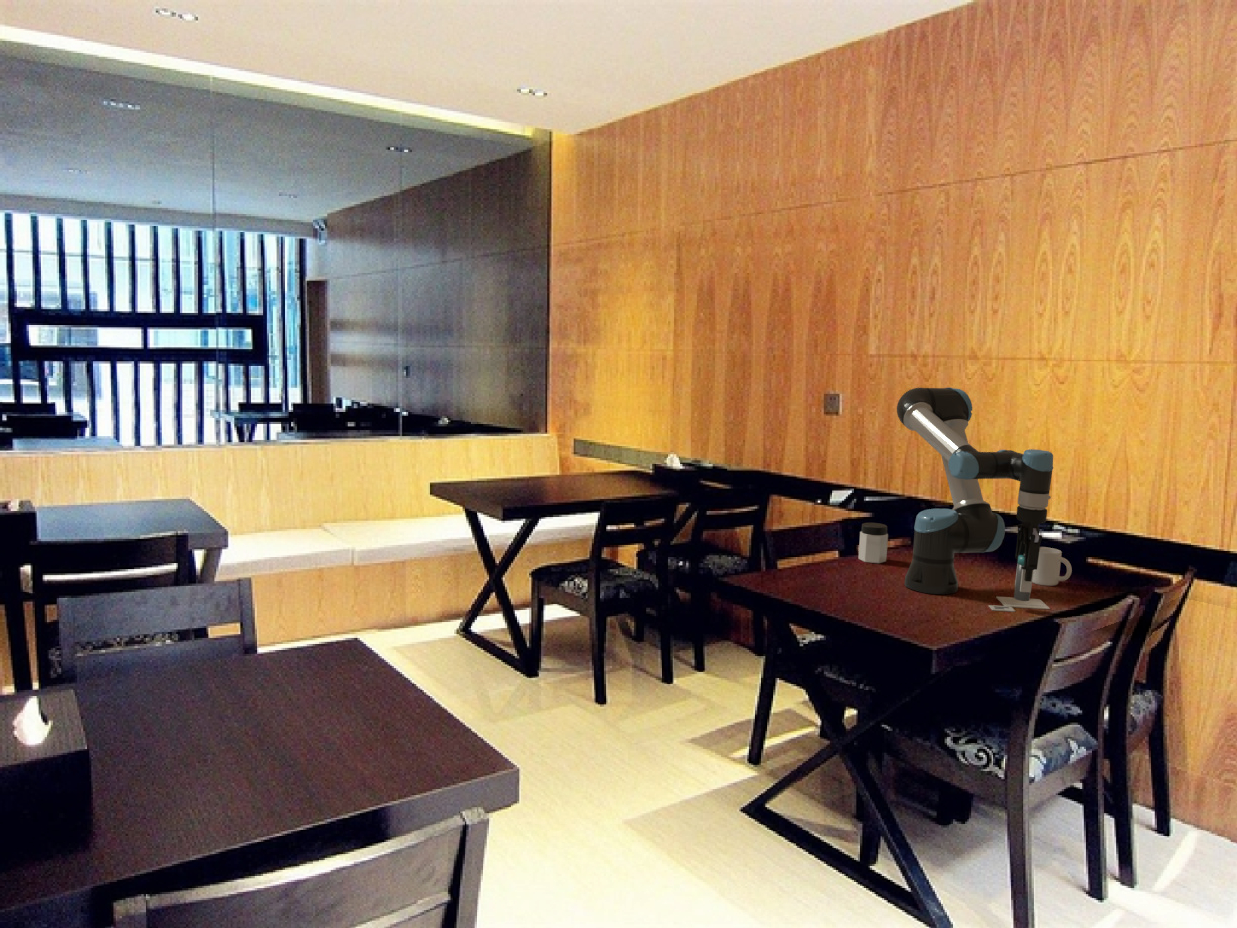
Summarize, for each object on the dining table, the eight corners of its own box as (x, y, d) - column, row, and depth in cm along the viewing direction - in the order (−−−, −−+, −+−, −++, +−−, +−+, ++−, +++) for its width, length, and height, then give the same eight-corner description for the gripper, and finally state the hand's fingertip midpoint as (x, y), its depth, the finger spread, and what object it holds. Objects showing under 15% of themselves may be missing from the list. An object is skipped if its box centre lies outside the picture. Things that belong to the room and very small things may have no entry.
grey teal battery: (1016, 600, 248) (1021, 555, 245) (1011, 595, 252) (1016, 551, 249) (1031, 601, 247) (1037, 556, 245) (1027, 596, 251) (1032, 552, 249)
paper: (1004, 606, 252) (1004, 605, 252) (996, 597, 261) (996, 596, 261) (1049, 609, 251) (1050, 608, 250) (1039, 600, 259) (1039, 598, 259)
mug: (1075, 586, 275) (1078, 553, 274) (1063, 590, 270) (1066, 557, 269) (1036, 577, 284) (1039, 545, 283) (1024, 581, 279) (1027, 549, 278)
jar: (890, 563, 297) (892, 527, 295) (867, 564, 295) (870, 528, 294) (876, 556, 306) (879, 521, 304) (854, 557, 304) (857, 522, 302)
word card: (992, 610, 248) (992, 609, 248) (988, 606, 252) (988, 604, 252) (1015, 611, 247) (1015, 610, 247) (1010, 607, 251) (1011, 606, 251)
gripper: (1057, 514, 236) (1047, 599, 240) (1037, 501, 253) (1027, 580, 257) (1027, 512, 237) (1017, 597, 241) (1009, 499, 254) (1000, 579, 258)
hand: (1022, 588), depth 249 cm, fingers closed on grey teal battery, 4 cm apart
